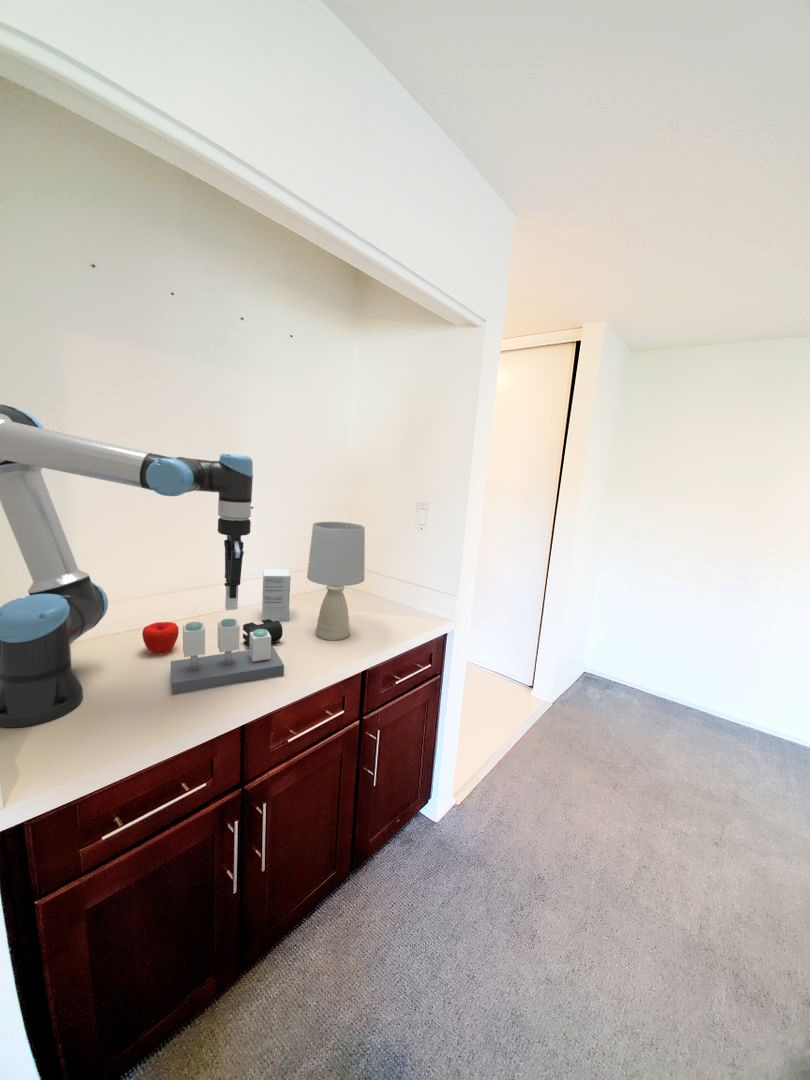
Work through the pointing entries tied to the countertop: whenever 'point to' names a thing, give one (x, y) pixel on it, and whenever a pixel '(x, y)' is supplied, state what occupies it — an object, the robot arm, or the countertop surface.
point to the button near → (193, 639)
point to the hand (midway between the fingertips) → (231, 608)
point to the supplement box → (276, 594)
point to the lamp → (336, 572)
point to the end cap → (271, 626)
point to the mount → (222, 670)
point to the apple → (160, 637)
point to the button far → (260, 645)
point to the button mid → (228, 635)
